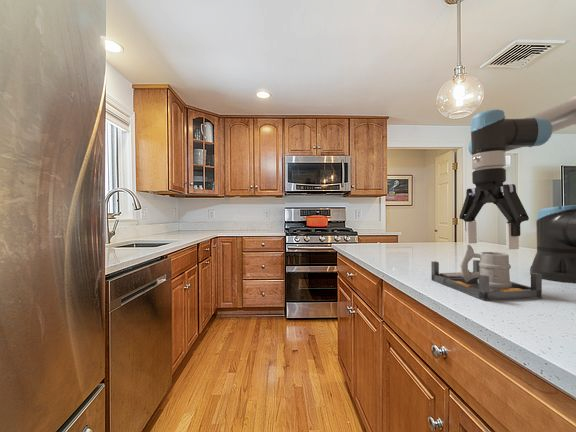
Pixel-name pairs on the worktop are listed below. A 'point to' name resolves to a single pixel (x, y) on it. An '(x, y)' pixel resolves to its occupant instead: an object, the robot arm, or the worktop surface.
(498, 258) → the mug
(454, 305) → the worktop surface
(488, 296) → the tray
